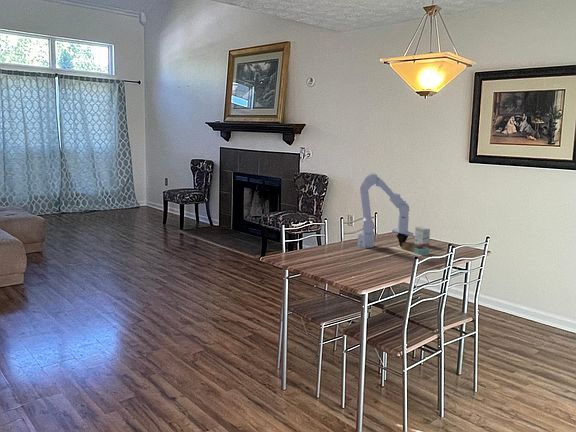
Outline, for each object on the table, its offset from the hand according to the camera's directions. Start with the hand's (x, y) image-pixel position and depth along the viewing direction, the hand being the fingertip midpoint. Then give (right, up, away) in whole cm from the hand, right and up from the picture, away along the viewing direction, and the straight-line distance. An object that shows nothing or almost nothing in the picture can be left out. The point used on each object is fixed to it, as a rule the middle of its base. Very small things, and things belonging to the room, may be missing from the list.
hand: (401, 246), depth 296 cm
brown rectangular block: (+4, -2, -6) cm, 8 cm away
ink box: (+14, -1, +10) cm, 17 cm away
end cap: (+9, -3, -11) cm, 14 cm away
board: (+4, -3, -5) cm, 7 cm away
